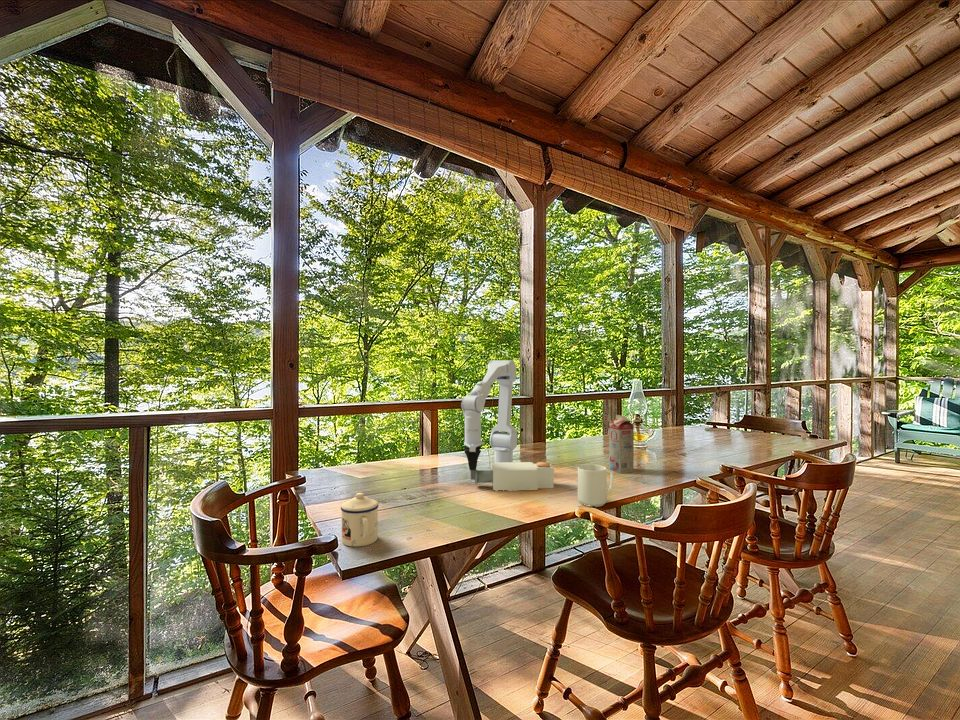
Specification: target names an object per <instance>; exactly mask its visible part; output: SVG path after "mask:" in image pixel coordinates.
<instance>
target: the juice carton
mask: <svg viewBox="0 0 960 720" xmlns="http://www.w3.org/2000/svg"><path fill="white" fill-rule="evenodd" d="M627 419H628V418H627V416H625V415H621V414H615V419H613V420H611V421H610V422H609V423H608V425H609V426H608V431H609V433H608V434H609V435H608V439H609V440H608V447H609V448H608V452H609V453H608V455H609V457H608V466H609V468H608V470H610V471H614V473H617V474H625V473H634V448H635V447H634V435H635V434H634V430H635V427H634V424H633V423H632V422H630V421H628V420H627Z"/></svg>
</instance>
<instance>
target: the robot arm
mask: <svg viewBox="0 0 960 720" xmlns="http://www.w3.org/2000/svg"><path fill="white" fill-rule="evenodd" d="M516 380H517V365H516V362H515V361H514V360H513V359H510V360H504V359H503V360H502V359H501V360H497V359H491V360H490V361H489V362H488V364H487V372H486V374H485V375H484V377H483V379H482V380H481V381H478V382H477V383H476V384H475V385H474V387H473V388H472V389H471V391H470V393H469V394H467V395H465V396H463V398H462V400H461V403H460V406H461V407H460V408H461V410H462V415H463V417H464V442H463V445H464V446H465V447H464V450H463V451H464V454H465V456H466V459H467V463H468V468H469V471H470V470H477V467H478V462H479V461H478V459H479V457H480V454H481V453H482V451H481V447H482V446H481V445H485V441H482V412H483V410H484V408H485V404H486V399H487V398H488V396H489V394H490V393H491V391H492V388H491V386H492V385H493V383H494V382H495V381H496V382H498V384H499V394H498V409H497V410H498V411H497V424H496V425H495V426H494V427H492V428H491V433H490V435H489V444H490V446H491V448H492V450H494V455H493V456H494V461H493V463H499V462H514V459H513V457H514V454H513V453H514V450H515V449H516V448H517V445H518V433H517V429H516V428H515V427H514V426H513V425H512V424H511V420H512V404H513V403H512V399H513V387H514V382H516Z"/></svg>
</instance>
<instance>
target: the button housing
mask: <svg viewBox="0 0 960 720" xmlns="http://www.w3.org/2000/svg"><path fill="white" fill-rule="evenodd" d="M554 469H555V467H554V466H553V465H552V464H551V463H550V466H548V467H538V466H537V463H534V462H532V461H519V462H518V461H515V462H514V461H513V462H499V463H494V462H490V470H493V483H492V484H491V487H492V486H493V487H492V491H493V490H496V491H495V492H499V491H498V490H503V491H502V492H505V491H504V490H508V491H507V492H516V491H515V490H538V491H539V489H554V485H555V484H554V483H555V482H554V479H555V478H554V477H555V474H554V473H555V471H554ZM512 490H513V491H512Z"/></svg>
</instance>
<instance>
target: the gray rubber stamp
mask: <svg viewBox="0 0 960 720" xmlns="http://www.w3.org/2000/svg"><path fill="white" fill-rule="evenodd" d="M469 471H470V473H469V474H470V475H469V477H470V480H472V481H473V480H474V484H475V485H477V484H481V483H482V484H483V483H484V484H486V483H487V484H488V483H489V484H491V483H493V470H491V469H490V470H489V469H488V470H486V469H485V470H480V469H479V470H478V469H476V470H470V469H469Z"/></svg>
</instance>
